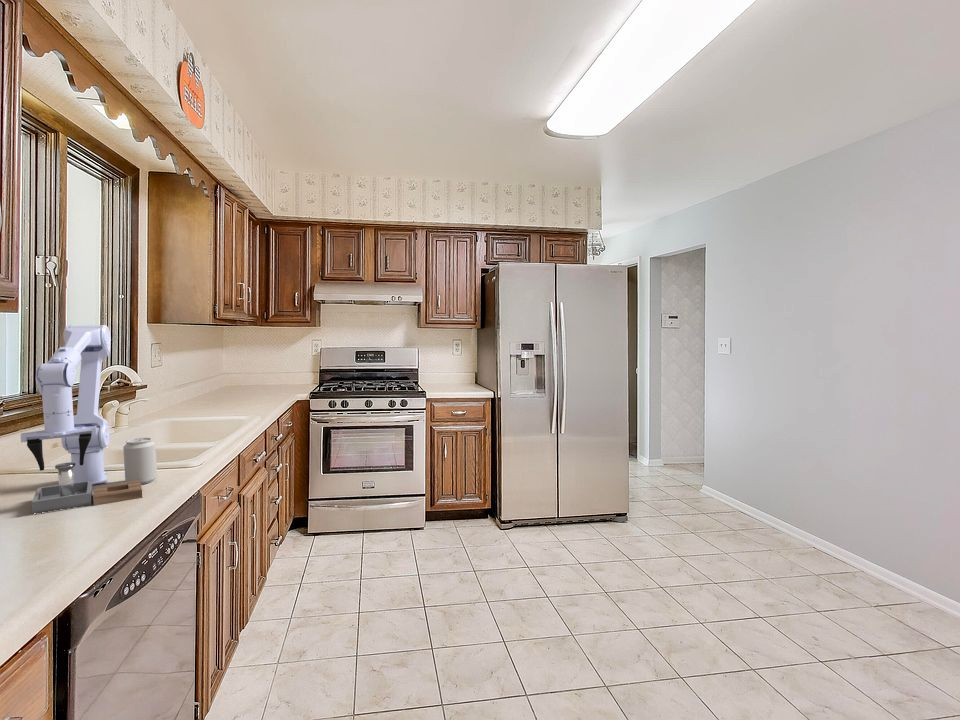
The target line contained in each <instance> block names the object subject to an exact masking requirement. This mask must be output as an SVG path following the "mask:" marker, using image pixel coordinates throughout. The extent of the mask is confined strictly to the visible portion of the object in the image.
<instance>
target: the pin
mask: <svg viewBox="0 0 960 720" xmlns="http://www.w3.org/2000/svg"><path fill="white" fill-rule="evenodd" d="M75 466H76V463H73V462H70V461H69V462H64V463H58V464H55V465H54V469H55V470H57V476H58V477H57V479H58V485H59V494H60V497H63V496H69V495H75V488H74V472H73V467H75Z"/></svg>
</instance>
